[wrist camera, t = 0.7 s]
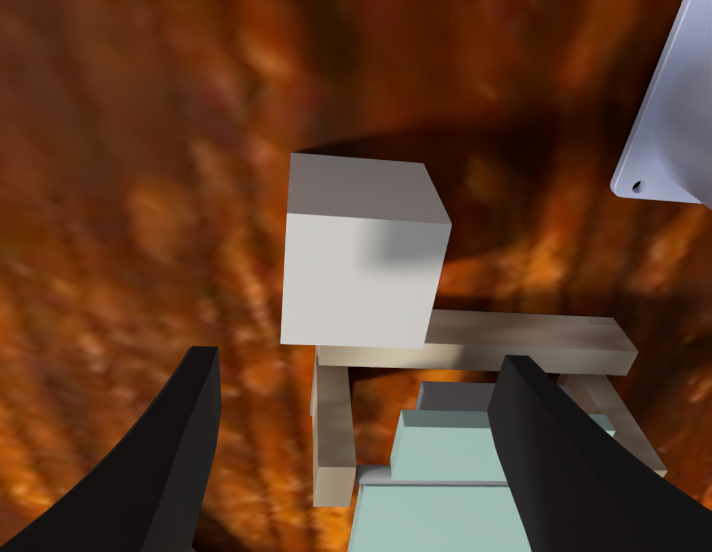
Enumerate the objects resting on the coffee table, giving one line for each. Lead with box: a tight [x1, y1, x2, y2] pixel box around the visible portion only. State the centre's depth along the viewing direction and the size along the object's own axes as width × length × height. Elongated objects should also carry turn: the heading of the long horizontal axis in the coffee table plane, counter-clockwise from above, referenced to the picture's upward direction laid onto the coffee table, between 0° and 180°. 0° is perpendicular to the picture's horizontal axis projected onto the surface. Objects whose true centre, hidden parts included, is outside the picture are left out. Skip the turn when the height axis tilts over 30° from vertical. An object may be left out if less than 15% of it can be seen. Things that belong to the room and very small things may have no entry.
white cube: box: [281, 153, 452, 349], centre depth 20 cm, size 5×5×5 cm
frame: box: [310, 309, 667, 507], centre depth 24 cm, size 14×6×7 cm, turn 84°
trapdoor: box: [348, 381, 615, 552], centre depth 24 cm, size 11×14×2 cm
